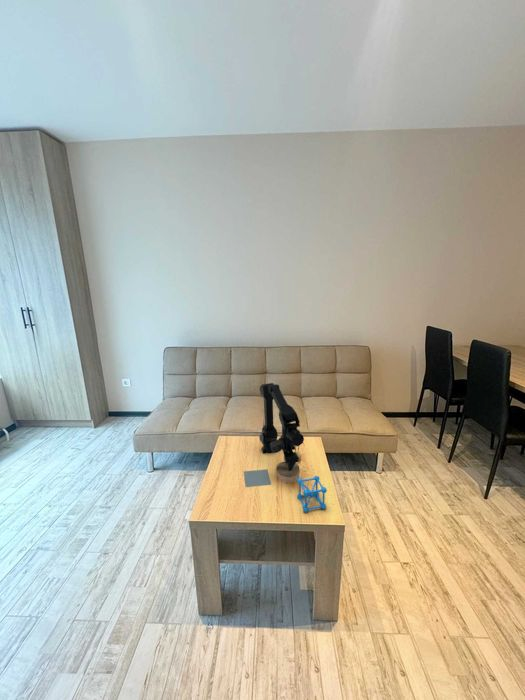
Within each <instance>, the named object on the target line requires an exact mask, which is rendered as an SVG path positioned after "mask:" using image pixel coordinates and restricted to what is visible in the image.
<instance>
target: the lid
mask: <svg viewBox="0 0 525 700" xmlns="http://www.w3.org/2000/svg"><path fill="white" fill-rule="evenodd" d="M277 472H278V474H280V475H282V476H285V477H292V476H295V475H297V474H298V473H299V474H300V466H299V465H298V463H297V462H296V463H295V465H294V467H293V468H292V470H291V471H289V469H288V464H287V463H285V461H282V462H280V463H278V464H277V465H276V473H277Z"/></svg>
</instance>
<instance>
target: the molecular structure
mask: <svg viewBox="0 0 525 700" xmlns="http://www.w3.org/2000/svg"><path fill="white" fill-rule="evenodd" d="M308 481H314V483H313V485H312V488H311V490H310V489H309V488H308V487H307V486H306V485H305V483H304V482H308ZM296 482H297V483H298V494H297V495H296V496H297V497H296V498H297V499H298V500H300V502H301V504H302V511H303V512H304V513H308V512H309V511H310V510H314V509H315V510H317V509H322V510H326V508H327V505H326V503H325V499H326V498H325V497H326V495H325V494H326V493H327V491H328V490H327V488H326V486H323V484H322V483H321V481H320V476H319V475H314V477H313V478H312V477H310V478H306V479H304V478H303V479H302V478H301V477H299V478H298V480H297V481H296ZM318 485H319V486H320V488H321V489H318V488H319V487H318ZM301 487H302V488H301ZM302 489H303V491H302ZM301 491H302V492H301ZM301 493H302V494H301ZM320 493H322V500H321V498H320ZM312 497H313V498H314V499H315V500H316V501H317V502H318V504H319V505H317V506H311V507H309V504H310V502H311V498H312ZM303 498H304V500H303Z"/></svg>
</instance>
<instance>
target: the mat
mask: <svg viewBox="0 0 525 700" xmlns="http://www.w3.org/2000/svg"><path fill="white" fill-rule="evenodd" d="M269 473H270V472H269V470H268V468H266V469H255V470H245V471H243V477H244V485H245V488H251V487H252V488H253V487H262V486H272V481H271V478H270V474H269Z"/></svg>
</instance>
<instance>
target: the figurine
mask: <svg viewBox="0 0 525 700" xmlns="http://www.w3.org/2000/svg"><path fill="white" fill-rule="evenodd" d="M302 444H303V446H305V443H304V442H303V443H302ZM294 452H296V453H297V454H298V457H299V460H301V458H302V454H301V453H300V445H299V446H295V450H294Z"/></svg>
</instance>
